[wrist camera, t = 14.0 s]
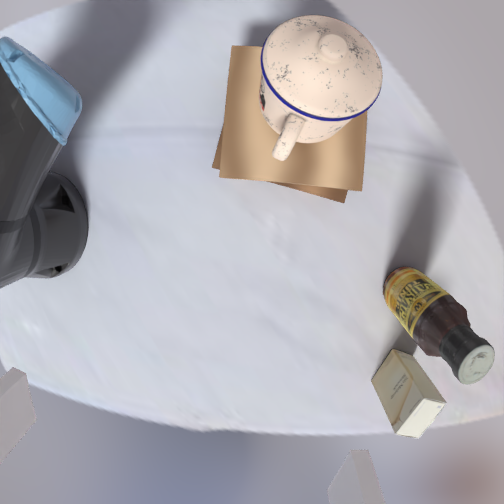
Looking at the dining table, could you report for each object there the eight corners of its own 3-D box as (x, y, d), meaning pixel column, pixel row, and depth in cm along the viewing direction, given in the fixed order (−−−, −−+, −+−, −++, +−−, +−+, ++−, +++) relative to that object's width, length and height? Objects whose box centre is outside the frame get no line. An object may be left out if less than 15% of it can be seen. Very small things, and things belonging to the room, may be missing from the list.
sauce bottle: (400, 255, 39) (489, 311, 19) (429, 281, 39) (518, 345, 20) (369, 295, 40) (436, 377, 21) (400, 319, 41) (471, 402, 21)
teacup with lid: (278, 48, 28) (295, -23, 16) (360, 87, 28) (411, 34, 17) (226, 148, 29) (216, 106, 17) (316, 190, 29) (360, 174, 18)
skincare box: (391, 347, 42) (424, 395, 30) (414, 355, 42) (449, 402, 30) (369, 381, 43) (393, 435, 31) (392, 388, 43) (419, 439, 31)
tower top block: (224, 178, 35) (219, 177, 31) (235, 59, 32) (231, 45, 28) (351, 190, 34) (361, 191, 30) (358, 72, 31) (367, 61, 28)
